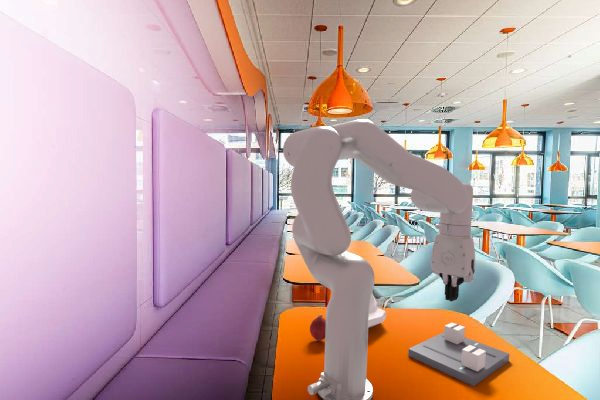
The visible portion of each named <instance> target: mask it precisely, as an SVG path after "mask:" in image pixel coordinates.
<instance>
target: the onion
mask: <svg viewBox="0 0 600 400" xmlns="http://www.w3.org/2000/svg"><path fill="white" fill-rule="evenodd" d="M325 331H326V318H324V317H323V314H321V313H320V314H318V316H317V317H316V318H314V319H313V320H312V321H311V323H310V327H309V332H310V335H311V337H312V338H313V339H315V340H316V341H317V342H322V341H323V340H324V339H325Z"/></svg>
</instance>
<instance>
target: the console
mask: <svg viewBox="0 0 600 400" xmlns="http://www.w3.org/2000/svg"><path fill="white" fill-rule="evenodd" d="M469 345H471V346H474V347H478V348H479V349H482V350H484V351H486V357H485V367H483V368H482V369H481V370H479V371H478V372H477V371H475V370H472V369H470V368H468V367H465V366H463V365H461V361H462V349H464V348H465V347H467V346H469ZM408 357H410V358H412V359H415V360H416V361H419V362H421V363H422V364H423V363H424V364H425V365H428V366H429V367H431V368H434V369H435V370H438V371H441V372H442V373H444V374H447V375H449V376H450V377H453V378H455V379H457V380H458V381H462V382H463V383H466V384H467V385H470V386H472V387H475V386H476V385H478V384H480V382H482V381H484V380H485V379H487V378H488V377H489V376H490V375H492V374H493V373H494V372H495V371H497V370H498V369H500V368H502V367H503V366H504V365H505V364H507V363H509V362H510V353H509V352H506V351H504V350H500V349H497V348H495V347H492V346H490V345H486V344H485V343H482V342H479V341H476V340H473V339H471V338H468V337H467V336H465V337H464V341H463V342H461V343H459V344H455V343H453V342H450V341H447V340H445V339H444V331H443V332H441V333H439V334H436V335H434V336H432V337H431V338H428V339H426V340H424V341H422V342H420V343H418V344H416V345H413V346H411V347H409V348H408Z"/></svg>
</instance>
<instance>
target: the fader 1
mask: <svg viewBox="0 0 600 400" xmlns="http://www.w3.org/2000/svg"><path fill="white" fill-rule="evenodd" d="M443 330H444V331H443V332H444V339H445V340H447V341H450V342H453V343H455V344H459V343H461V342H463V341H464V337H466V336H465V333H466V331H465V330H466V327H465V326H463V325H460V324H458V323H454V322H450V323H448V324H445V325H444V329H443Z"/></svg>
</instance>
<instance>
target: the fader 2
mask: <svg viewBox="0 0 600 400" xmlns="http://www.w3.org/2000/svg"><path fill="white" fill-rule="evenodd" d="M485 357H486V351H484V350H482V349H479V348H478V347H474V346H471V345H469V346H467V347H465V348H464V349H462V361H461V365H463V366H465V367H468V368H470V369H472V370H475V371H477V372H478V371H479V370H481V369H482V368H483V367H485Z"/></svg>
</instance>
